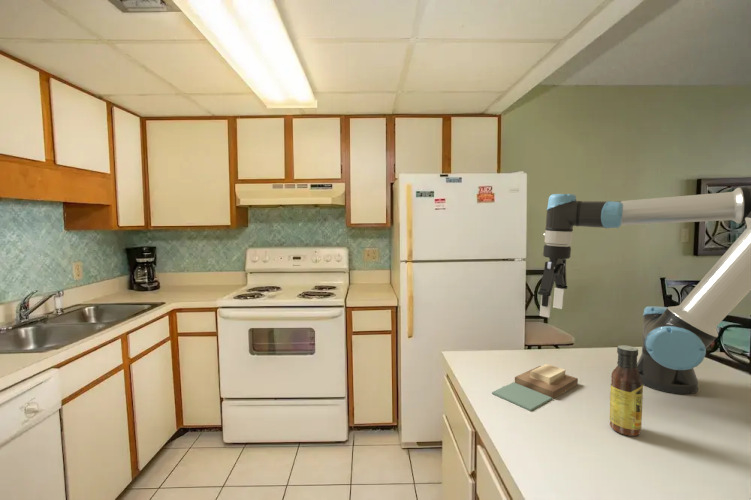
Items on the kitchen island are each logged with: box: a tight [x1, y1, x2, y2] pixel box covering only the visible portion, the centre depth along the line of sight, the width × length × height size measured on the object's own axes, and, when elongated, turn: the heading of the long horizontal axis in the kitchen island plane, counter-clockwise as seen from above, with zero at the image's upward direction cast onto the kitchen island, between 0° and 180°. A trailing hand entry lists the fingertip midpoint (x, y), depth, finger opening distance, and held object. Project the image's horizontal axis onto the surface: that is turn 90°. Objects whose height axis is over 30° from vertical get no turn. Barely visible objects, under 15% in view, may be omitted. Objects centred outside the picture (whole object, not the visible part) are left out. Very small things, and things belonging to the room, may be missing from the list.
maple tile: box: [530, 363, 566, 384], centre depth 111 cm, size 6×9×2 cm, turn 125°
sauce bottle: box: [609, 345, 644, 437], centre depth 85 cm, size 7×6×20 cm
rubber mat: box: [491, 381, 553, 412], centre depth 103 cm, size 12×10×1 cm
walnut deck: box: [514, 365, 579, 400], centre depth 110 cm, size 12×14×2 cm
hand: (551, 312), depth 114 cm, fingers open, 13 cm apart
